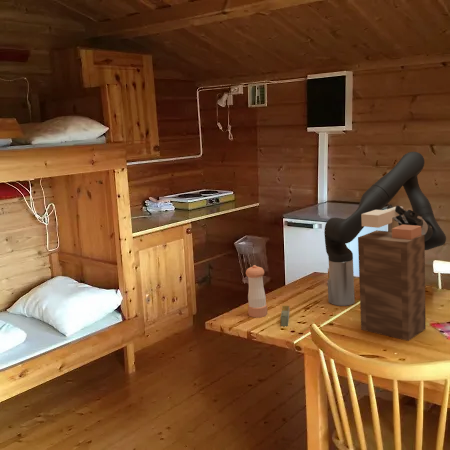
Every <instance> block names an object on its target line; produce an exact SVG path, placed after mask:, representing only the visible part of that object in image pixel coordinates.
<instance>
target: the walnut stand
mask: <svg viewBox="0 0 450 450" xmlns="http://www.w3.org/2000/svg"><path fill="white" fill-rule="evenodd" d="M357 248H358V249H357V250H358V274H359V277H358V278H359V281H358V283H359V306H360V307H359V308H360V330H362V331H365V332H370V333H374V334H379V335H383V336H386V337H392V338H395V339H399V340H403V341H408V342H409V341H410V340H412V339H413V338H415V337H416V336H417V335H419V334H420V333H422V332H423V331H425V330H426V328H427V327H426V324H427V323H426V262H425V261H426V258H425V257H426V256H425V255H426V254H425V253H426V252H425V251H426V250H425V241H424V235H421V236H418V237H416V238H414V239H412V240H410V239H400V238H392V231H387V230H378V229H377V230H374V231H371V232H369V233H366V234H363V235H360V236H358V237H357Z"/></svg>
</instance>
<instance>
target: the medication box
mask: <svg viewBox="0 0 450 450" xmlns="http://www.w3.org/2000/svg"><path fill="white" fill-rule="evenodd" d="M281 306H282V307H281V314H280V327H281V326H283V328H284V327H285V326H286V327H287V326H288V327H289V323H290V322H289V321H290V305H281ZM286 327H285V328H286Z"/></svg>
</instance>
